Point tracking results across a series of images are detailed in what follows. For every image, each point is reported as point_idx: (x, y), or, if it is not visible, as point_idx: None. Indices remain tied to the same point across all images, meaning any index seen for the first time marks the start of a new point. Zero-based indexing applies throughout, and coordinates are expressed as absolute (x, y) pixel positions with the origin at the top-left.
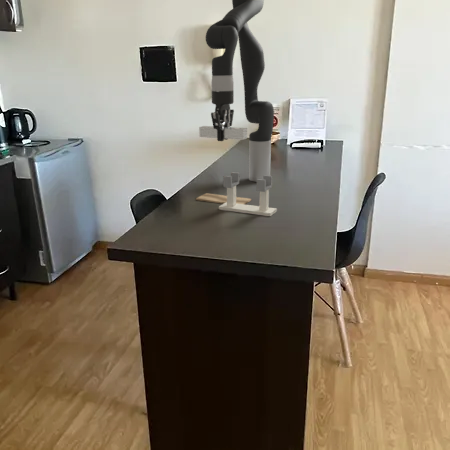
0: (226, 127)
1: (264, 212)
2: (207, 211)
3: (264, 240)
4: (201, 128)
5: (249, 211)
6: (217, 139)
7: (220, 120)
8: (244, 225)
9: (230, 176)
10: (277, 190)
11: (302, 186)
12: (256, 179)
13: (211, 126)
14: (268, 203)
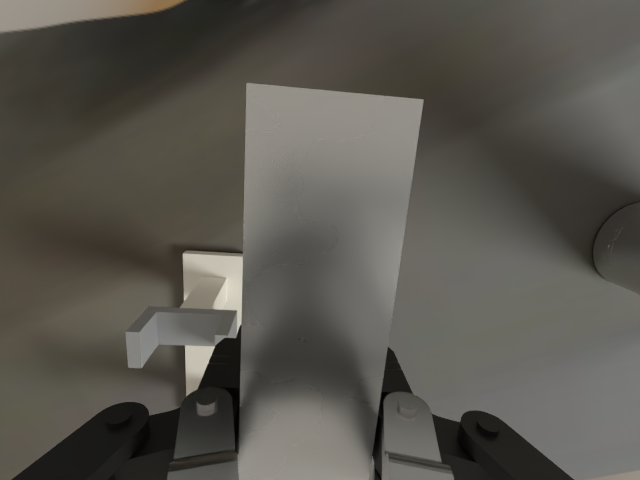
0: (330, 475)
1: None
2: (154, 219)
3: (3, 448)
4: (247, 132)
5: (186, 356)
6: (239, 328)
7: (387, 474)
8: (82, 372)
9: (136, 362)
10: (484, 347)
11: (552, 402)
12: (601, 248)
13: (382, 255)
14: None
